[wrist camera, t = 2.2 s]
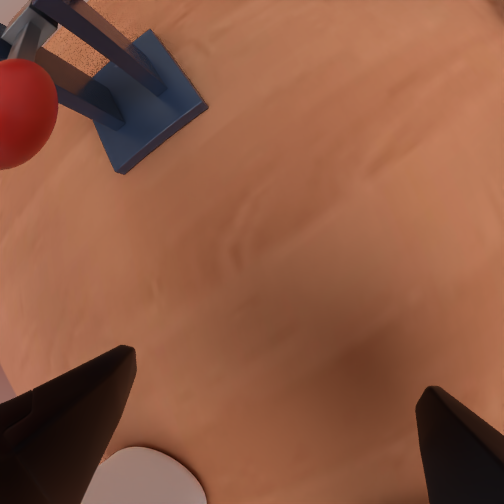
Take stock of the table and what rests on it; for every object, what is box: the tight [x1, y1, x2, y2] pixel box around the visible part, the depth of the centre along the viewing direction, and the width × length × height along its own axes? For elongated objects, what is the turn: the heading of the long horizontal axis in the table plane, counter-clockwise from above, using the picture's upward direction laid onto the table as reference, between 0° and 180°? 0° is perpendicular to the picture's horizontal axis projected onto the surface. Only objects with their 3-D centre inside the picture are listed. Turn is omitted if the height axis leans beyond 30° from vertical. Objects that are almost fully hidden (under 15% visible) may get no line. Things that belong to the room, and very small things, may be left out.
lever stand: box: [0, 0, 208, 175], centre depth 16 cm, size 10×8×14 cm
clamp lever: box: [0, 0, 58, 170], centre depth 9 cm, size 13×4×4 cm, turn 33°
